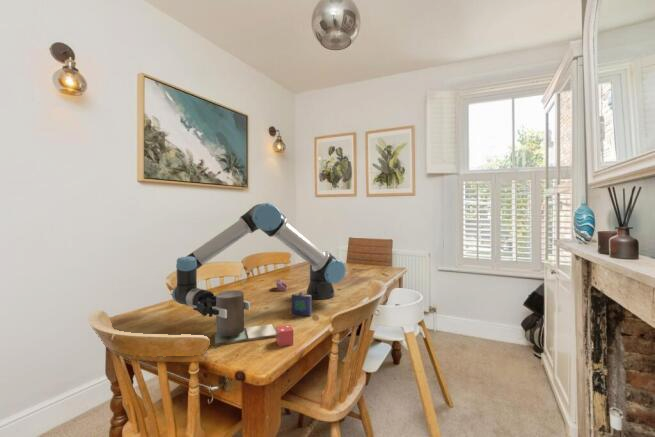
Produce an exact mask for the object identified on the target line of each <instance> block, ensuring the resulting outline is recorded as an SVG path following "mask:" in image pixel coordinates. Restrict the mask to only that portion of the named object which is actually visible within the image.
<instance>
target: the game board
mask: <svg viewBox="0 0 655 437" xmlns="http://www.w3.org/2000/svg"><path fill="white" fill-rule="evenodd" d="M275 338H276V327H275V325H274V324H272V323H271V324H262V325H254V326H248V327H244V331H243V332H242V333H240V334H237V335H233V336H220V335H218V334H217V330H216V331H214V332H213V346H214V347H218V346H224V345H231V344H233V345H234V344H238V343H239V344H240V343H245V342H246V343H247V342H252V341H258V340H267V339H275Z"/></svg>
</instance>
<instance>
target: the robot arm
mask: <svg viewBox="0 0 655 437" xmlns="http://www.w3.org/2000/svg"><path fill="white" fill-rule="evenodd" d="M258 230H260V231H261V232H263V233H264V234H265V235H267V236H268V237H269V238H273V237H275V238H276V239H277V240H279V241H280V242H282V243H283V245H284V246H286V247H288V248H289V249H290V250H291V251H293V252H294V253H295V254H296V255H298V256H299V257H300V258H302V259H303V260H304V261H305V262H307V263H308V264H309V283H308V286H307V289H306V295H311V296H312V299H315V300H326V299H331V298H334V297H335V289H334V285H333V284H337V283H340V282H342V281H343V279H344V278H345V275H346V272H347V270H346V269H347V268H346V265H345V263H344V262H343V261H342V260H340V259H337V258H336V257H335V256H333V255H332V253H331V252H329V251H323V250H321V249H320V248H319V247H318V246H317V245H315V244H314V243H313V242H312V241H310V240H309V239H308V238H307V237H306V236H304V235H303V234H302V233H301V232H299V230H297V229H296V227H293V226H292V225H291V224H290V223H289V222H288V219H287V217H286V216H285V215H284V214H283V213H282V212H281V211H280V209H279V208H278V207H277V206H276V205H274V204H272V203H269V202H268V203H267V202H265V203H258V204H255V205H254V206H252V207H250V209H249V210H247V211H246V212H245V213H243V215H241V216H239V219H238V221H236V222H234V223H233V224H231V225H229V227H227V228H226V229H224V230H223V231H222V232H219V233H218V234H217V235H215V236H213V238H211V239H209V240H208V241H207V242H205V243H204V244H202V245H201V246H199V247H198V248H196V249H195V250H193V251H192V252H191V253H190V254H188V255H186V256H181V257H178V258H177V259H176V266H175V268H176V286H174V288H173V290H172V292H171V297H172V299H173V301H174V302H176V303H178V304H180V305H185V306H188V307H191V308H192V309H193V311H197V313H199V314H200V315H202V316H203V317H206V316H208V317H209V318H212V317H213V316H215V317H216V316H219V317H222V318H227V310H226V309H222V308H219V307H216V295H215V294H214V293H213V292H212V291H211V290H207V289H203V288H198V286H197V284H198V282H197V278H198V277H197V276H198V274H197V273H198V271H197V270H199V269H200V268H201V267H202V266H204V265H205V264H207V262H210V261H211V260H212V259H214V258H215V257H217V256H218V255H220V253H222V252H224V251H225V250H226V249H228V248H229V247H230V246H232V245H233V244H235V243H236V242H238V241H239V240H241V239H242V238H244V237H245V236H247V235H248V234H252V233H254V232H256V231H258ZM244 310H247V311H250V310H251V301H246V300H244Z"/></svg>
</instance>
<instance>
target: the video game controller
mask: <svg viewBox="0 0 655 437" xmlns="http://www.w3.org/2000/svg"><path fill="white" fill-rule="evenodd" d="M275 284H276V287H277V288H278V290H279V291H282V292H287V286H288V285H287V283H286V282H284V281H283V280H282V279H276V283H275Z"/></svg>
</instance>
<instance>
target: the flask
mask: <svg viewBox="0 0 655 437" xmlns="http://www.w3.org/2000/svg"><path fill="white" fill-rule="evenodd" d="M312 299H313V298H312V296H311V295H307V294H304V290H300V291H299V293H297V292H295V293H292V294H291V315H292V316H297V317H306V318H307V317H312V314H313V313H312V312H313V311H312V309H313V308H312V307H313V306H312Z"/></svg>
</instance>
